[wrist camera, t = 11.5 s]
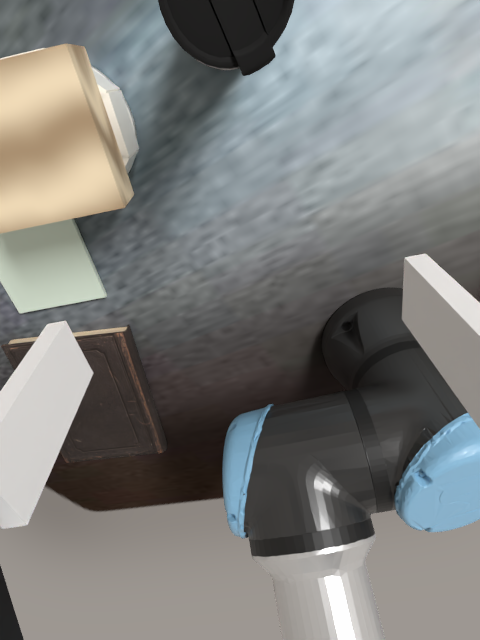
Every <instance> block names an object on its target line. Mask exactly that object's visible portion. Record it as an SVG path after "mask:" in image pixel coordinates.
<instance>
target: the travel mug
mask: <svg viewBox="0 0 480 640" xmlns="http://www.w3.org/2000/svg"><path fill="white" fill-rule="evenodd" d="M158 2H159V6H160V10H161V13H162V15H163V18H164V20H165V23H166V25H167V27H168V29H169V30H170V32H171V34H172V36H173V37H174V39H175V40H176V41H177V42H178V43H179V45H180V46H181V47H182V48H183V49H184V50H185V51H186V52H187V53H188V54H190V55H191V56H192V57H193V58H195V59H196V60H197V61H199V62H200V63H202V64H204V65H206V66H208V67H212V68H215V69H219V70H233V69H238V68H240V69H241V73H242V75H243V76H245V75H250V74H252V73H254V72H256V71H258V70H260V69H261V68H263V67H264V66H266V65H267V64H269V63H270V62H271V61H272V60H273V59H274V58H275V53H274V50H273V46H274V45H275V43H276V42H277V40H278V39H279V38H280V36H281V34H282V33H283V31H284V29H285V28H286V25H287V23H288V20H289V18H290V15H291V13H292V9H293V4H294V0H158Z"/></svg>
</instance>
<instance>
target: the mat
mask: <svg viewBox="0 0 480 640" xmlns="http://www.w3.org/2000/svg"><path fill="white" fill-rule="evenodd" d="M0 282H1V283H2V285H3V287H4V288H5V290H6V292H7V293H8V295H9V297H10V298H11V300H12V302H13V303H14V305H15V307H16V308H17V310H18V312H19V313H25V312H30V311H36V310H41V309H46V308H51V307H57V306H62V305H67V304H73V303H78V302H83V301H88V300H94V299H99V298H104V297H106V296H107V293H106V291H105V289H104V286H103V284H102V282H101V280H100V277H99V275H98V273H97V270H96V268H95V266H94V264H93V261H92V259H91V257H90V254H89V252H88V250H87V248H86V245H85V243H84V241H83V238H82V236H81V234H80V232H79V229H78V227H77V225H76V222H75V220H74V218H73V219H68V220H63V221H59V222H54V223H49V224H44V225H39V226H34V227H30V228H25V229H20V230H15V231H10V232H6V233H1V234H0Z"/></svg>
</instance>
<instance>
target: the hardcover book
mask: <svg viewBox="0 0 480 640" xmlns="http://www.w3.org/2000/svg"><path fill="white" fill-rule="evenodd" d="M73 335H74V337H75V339H76V341H77V343H78V345H79V347H80V349H81V350H82V352H83V354H84V356H85V358H86V360H87V362H88V364H89V366H90V368H91V369H92V371H93V375H92V378H91V380H90V382H89V385H88V387H87V389H86V391H85V394H84V396H83V398H82V401H81V403H80V405H79V408H78V410H77V412H76V414H75V417H74V419H73V421H72V424H71V426H70V428H69V431H68V433H67V435H66V437H65V440H64V442H63V444H62V447H61V449H60V452H61V454H62V456H63V457H64V459H65V461H66V463H67V462H77V461H87V460H97V459H107V458H117V457H127V456H137V455H147V454H157V453H163V452H165V451H166V450H167V440H166V437H165V434H164V431H163V428H162V425H161V422H160V419H159V416H158V413H157V409H156V406H155V403H154V400H153V397H152V394H151V391H150V388H149V385H148V382H147V378H146V375H145V372H144V369H143V366H142V363H141V360H140V357H139V354H138V351H137V347H136V344H135V341H134V338H133V335H132V332H131V329H130V326H129V325H128V326H127V327H121V328H112V329H103V330H95V331H86V332H77V333H73ZM37 338H38V337H33V338H24V339H15V340H11V341H10V342H9V344H5V345H2V346H1V347H2V349H3V350H4V352H5V354H6V356H7V357H8V359H9V361H10V363H11V365H12V366H13V368H14V370H16V368H17V367H18V365H19V364H20V363H21V361H22V360H23V358H24V357H25V355H26V354H27V353H28V351H29V350H30V348H31V347H32V345H33V344H34V343H35V341H36V340H37Z"/></svg>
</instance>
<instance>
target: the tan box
mask: <svg viewBox="0 0 480 640" xmlns="http://www.w3.org/2000/svg"><path fill="white" fill-rule="evenodd" d="M133 196H134V192H133V189H132V186H131V183H130V180H129V177H128V174H127V171H126V168H125V165H124V162H123V159H122V156H121V153H120V150H119V147H118V144H117V141H116V138H115V135H114V132H113V129H112V126H111V123H110V120H109V118H108V115H107V112H106V109H105V106H104V103H103V100H102V97H101V94H100V91H99V88H98V85H97V82H96V79H95V76H94V73H93V70H92V67H91V64H90V61H89V58H88V55H87V52H86V49H85V47H83V46H77V45H71V44H62V45H58V46H54V47H50V48H46V49H42V50H38V51H33V52H29V53H25V54H21V55H17V56H13V57H9V58H5V59H1V60H0V234H1V233H6V232H10V231H15V230H20V229H25V228H30V227H34V226H39V225H44V224H49V223H54V222H59V221H63V220H68V219H73V218H78V217H83V216H88V215H92V214H97V213H102V212H107V211H112V210H116V209H121V208H125V207H126V205H127V204H128V203H129V201H130V200H131V199H132V197H133Z"/></svg>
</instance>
